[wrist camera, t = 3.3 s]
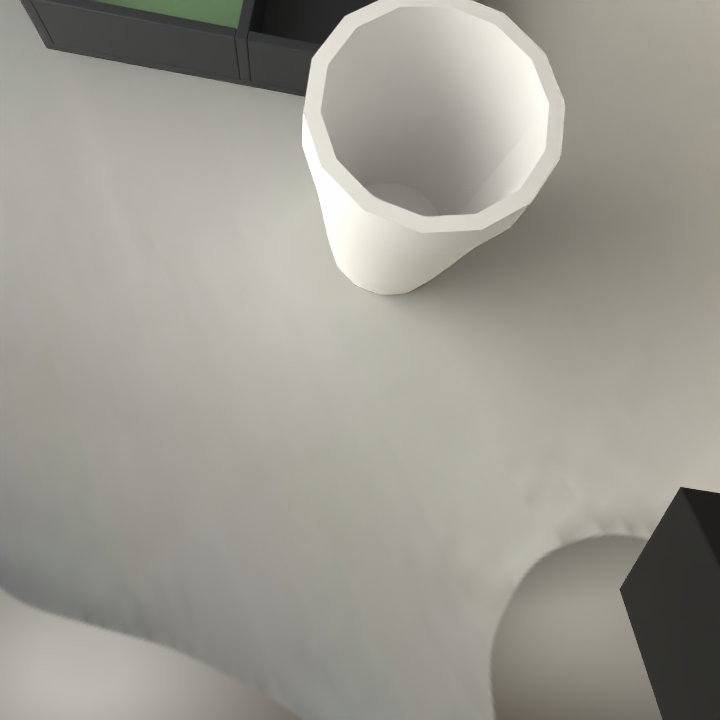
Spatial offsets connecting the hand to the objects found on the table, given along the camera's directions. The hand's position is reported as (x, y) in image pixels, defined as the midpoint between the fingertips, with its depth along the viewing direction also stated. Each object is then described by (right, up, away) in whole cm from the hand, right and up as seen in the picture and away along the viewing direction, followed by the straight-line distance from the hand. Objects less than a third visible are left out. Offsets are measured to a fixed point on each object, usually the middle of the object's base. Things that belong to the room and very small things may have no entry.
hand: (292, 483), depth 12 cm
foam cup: (+3, +9, +25) cm, 27 cm away
